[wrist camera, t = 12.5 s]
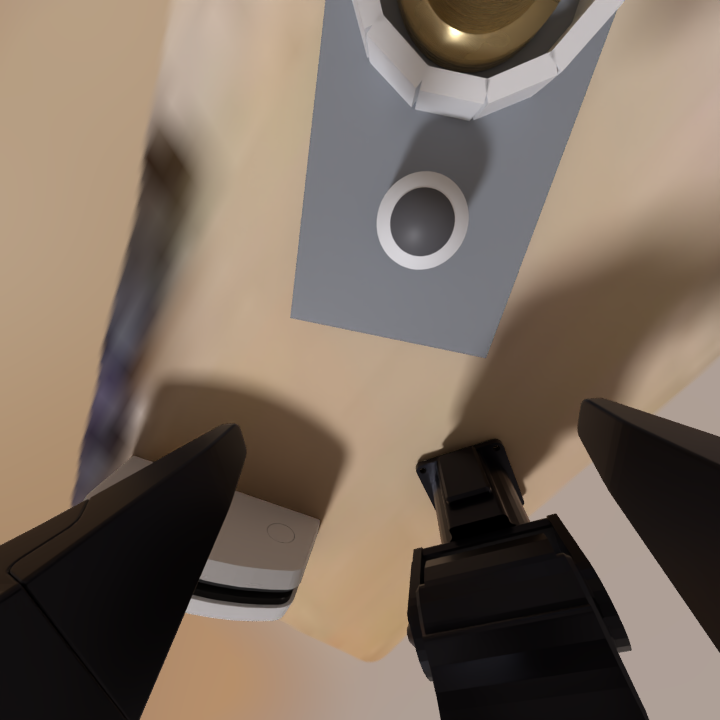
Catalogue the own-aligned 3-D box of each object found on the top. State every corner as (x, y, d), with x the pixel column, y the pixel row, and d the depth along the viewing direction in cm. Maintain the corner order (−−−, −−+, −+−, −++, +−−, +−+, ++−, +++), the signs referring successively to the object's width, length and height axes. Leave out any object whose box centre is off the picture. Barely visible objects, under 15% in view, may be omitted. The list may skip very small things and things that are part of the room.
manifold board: (479, 349, 21) (502, 381, 17) (296, 311, 21) (274, 334, 17) (686, -219, 12) (841, -446, 8) (367, -290, 12) (357, -557, 8)
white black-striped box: (124, 496, 29) (11, 582, 19) (142, 447, 29) (38, 507, 19) (305, 557, 30) (287, 666, 20) (323, 510, 30) (315, 598, 20)
